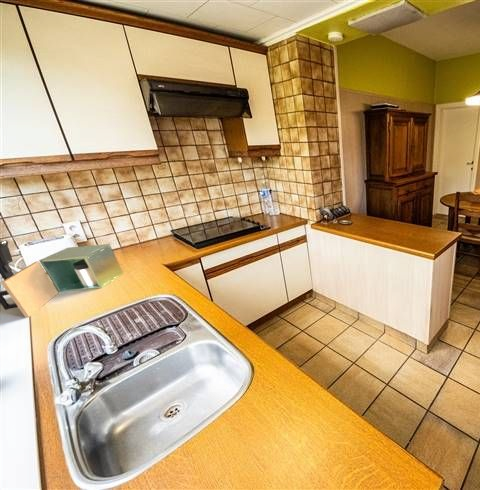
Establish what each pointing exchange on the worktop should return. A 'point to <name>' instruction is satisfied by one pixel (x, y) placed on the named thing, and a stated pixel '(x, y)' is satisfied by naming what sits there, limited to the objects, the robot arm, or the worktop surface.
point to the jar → (84, 273)
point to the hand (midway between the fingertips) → (10, 278)
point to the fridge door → (28, 289)
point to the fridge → (96, 259)
